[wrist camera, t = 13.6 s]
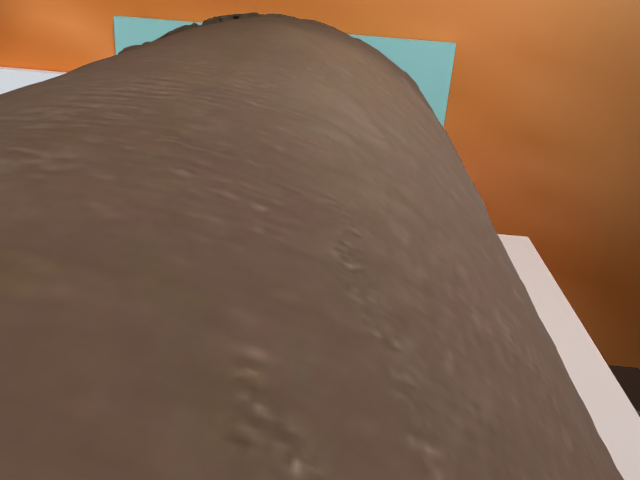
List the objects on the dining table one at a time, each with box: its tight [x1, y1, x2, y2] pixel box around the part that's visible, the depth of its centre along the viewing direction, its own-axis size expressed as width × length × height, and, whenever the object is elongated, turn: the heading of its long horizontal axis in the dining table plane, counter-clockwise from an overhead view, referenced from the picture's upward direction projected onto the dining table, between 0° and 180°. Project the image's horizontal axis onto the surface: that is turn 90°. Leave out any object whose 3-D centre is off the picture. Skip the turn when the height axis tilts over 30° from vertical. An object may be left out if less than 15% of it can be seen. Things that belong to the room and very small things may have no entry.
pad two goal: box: [114, 16, 456, 127], centre depth 17 cm, size 9×8×1 cm
